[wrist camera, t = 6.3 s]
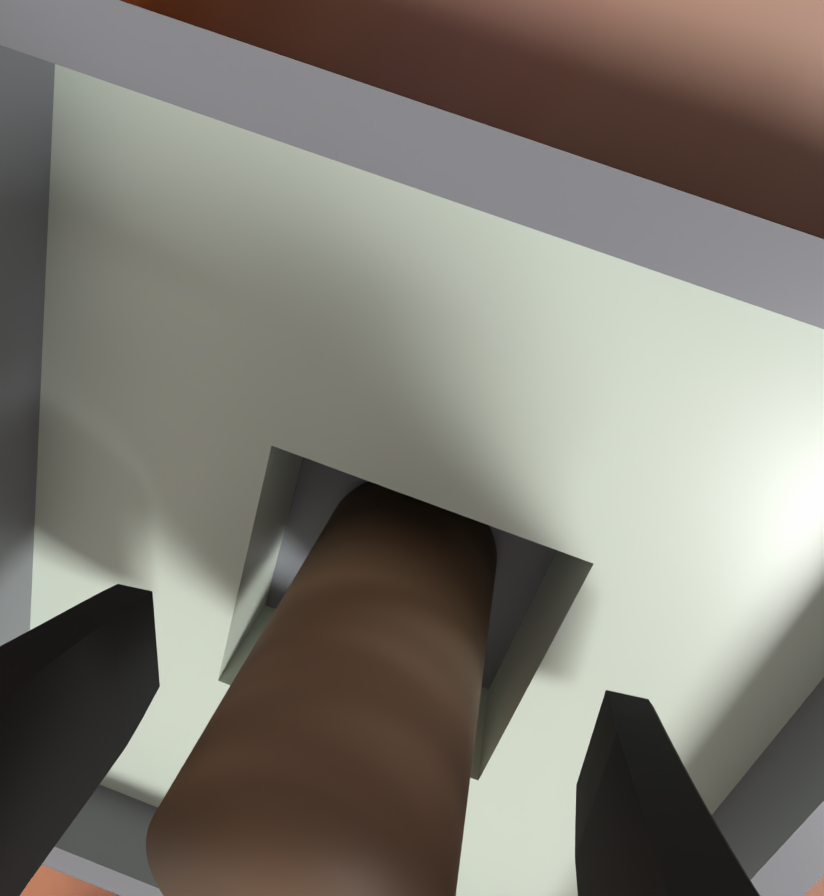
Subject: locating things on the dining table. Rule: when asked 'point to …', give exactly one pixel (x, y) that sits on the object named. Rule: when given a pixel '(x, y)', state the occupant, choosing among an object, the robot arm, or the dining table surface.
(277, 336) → the bore box
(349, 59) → the dining table surface
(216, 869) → the peg
